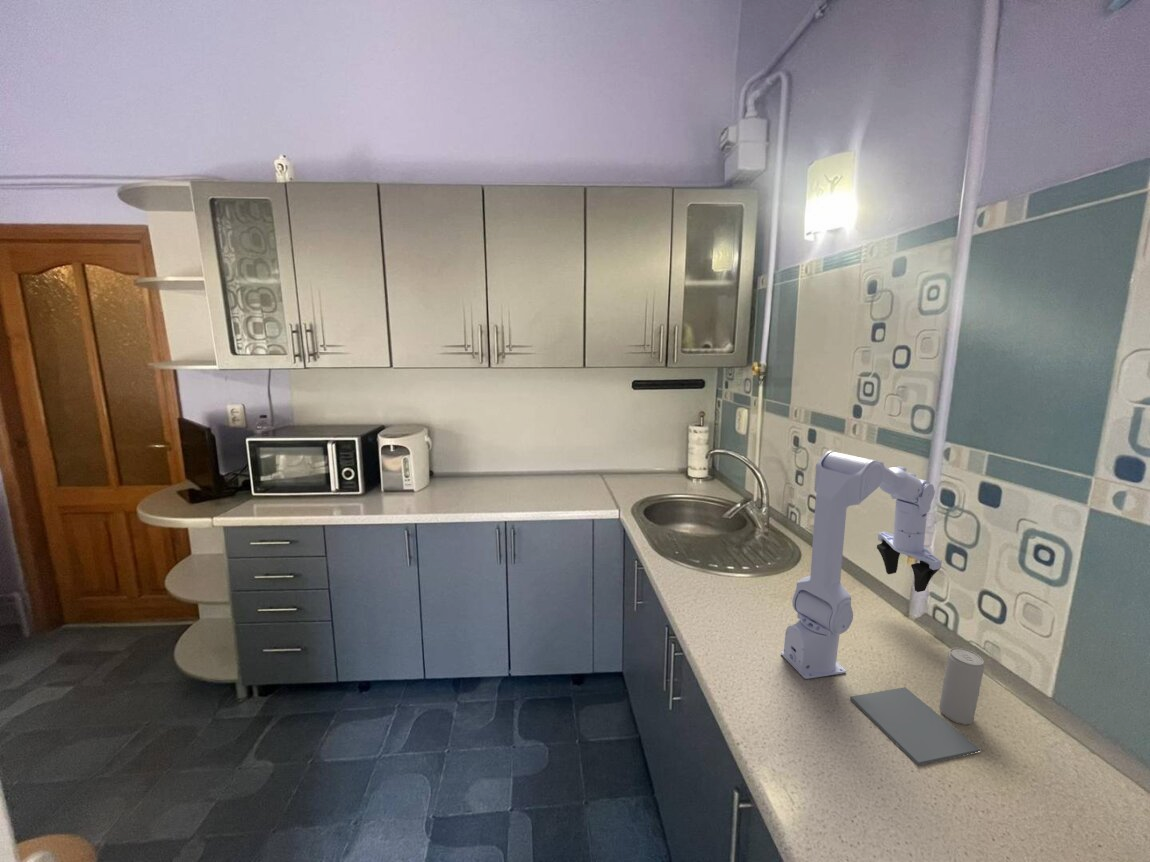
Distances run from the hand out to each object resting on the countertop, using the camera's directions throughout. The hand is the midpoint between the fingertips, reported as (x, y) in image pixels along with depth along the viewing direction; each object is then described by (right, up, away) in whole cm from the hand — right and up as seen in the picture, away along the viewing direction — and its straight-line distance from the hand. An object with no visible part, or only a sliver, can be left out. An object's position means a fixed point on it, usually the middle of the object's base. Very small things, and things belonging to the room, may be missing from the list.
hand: (905, 581), depth 108 cm
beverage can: (-9, -16, -25) cm, 31 cm away
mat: (-18, -16, -27) cm, 37 cm away
